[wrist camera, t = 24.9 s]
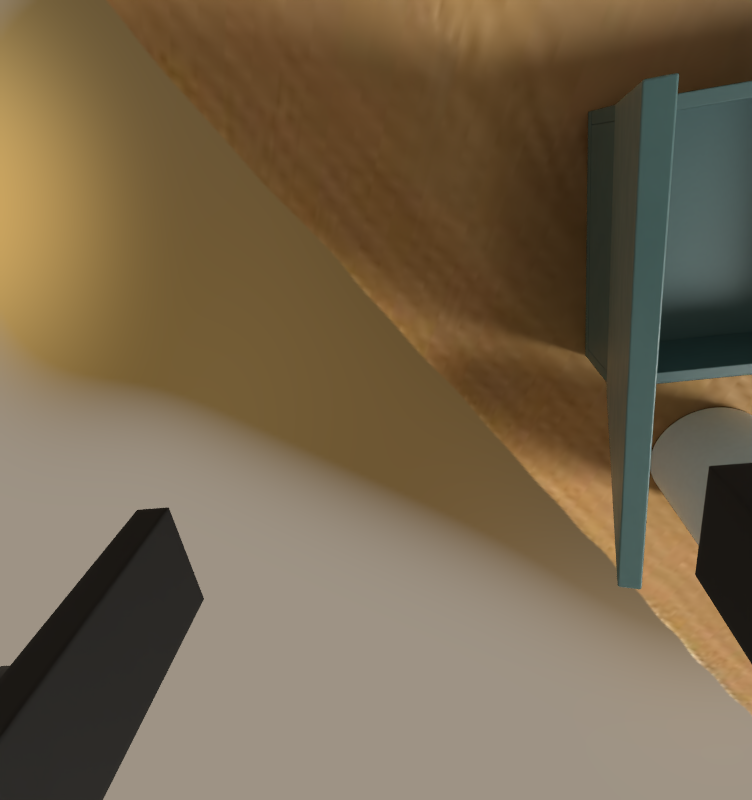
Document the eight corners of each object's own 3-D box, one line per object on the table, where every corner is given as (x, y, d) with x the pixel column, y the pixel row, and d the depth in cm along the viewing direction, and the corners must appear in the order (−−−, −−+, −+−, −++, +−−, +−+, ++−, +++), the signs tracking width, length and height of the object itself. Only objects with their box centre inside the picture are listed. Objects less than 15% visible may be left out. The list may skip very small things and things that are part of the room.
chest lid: (679, 72, 13) (642, 79, 13) (641, 590, 19) (617, 586, 20) (632, 100, 27) (615, 103, 27) (619, 391, 34) (606, 391, 34)
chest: (881, 61, 31) (983, 40, 25) (825, 329, 38) (895, 360, 32) (587, 111, 33) (620, 103, 28) (585, 355, 40) (610, 388, 34)
